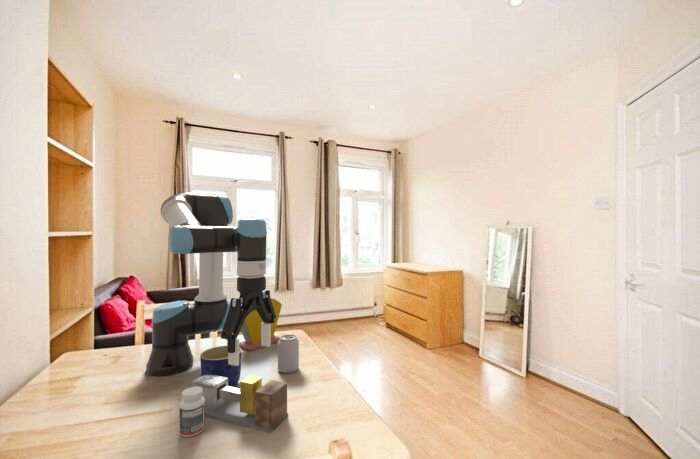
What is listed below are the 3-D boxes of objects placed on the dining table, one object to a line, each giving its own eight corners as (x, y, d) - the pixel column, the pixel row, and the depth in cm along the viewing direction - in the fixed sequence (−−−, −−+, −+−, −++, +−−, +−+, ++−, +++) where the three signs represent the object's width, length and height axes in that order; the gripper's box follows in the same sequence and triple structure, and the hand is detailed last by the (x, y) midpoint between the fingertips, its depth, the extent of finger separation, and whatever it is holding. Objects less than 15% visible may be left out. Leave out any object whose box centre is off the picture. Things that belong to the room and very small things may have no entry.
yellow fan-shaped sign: (272, 335, 153) (272, 290, 153) (285, 339, 147) (285, 292, 148) (231, 349, 135) (232, 298, 135) (245, 353, 129) (245, 301, 130)
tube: (201, 402, 88) (201, 373, 88) (212, 395, 92) (212, 368, 92) (268, 418, 81) (268, 387, 81) (277, 410, 84) (277, 380, 85)
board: (187, 411, 87) (187, 409, 87) (209, 397, 95) (209, 395, 95) (271, 432, 78) (271, 430, 78) (288, 415, 86) (288, 413, 86)
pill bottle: (185, 424, 82) (185, 385, 82) (208, 423, 82) (208, 384, 82) (175, 438, 76) (175, 397, 76) (199, 437, 76) (199, 396, 76)
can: (301, 365, 118) (301, 333, 118) (295, 374, 110) (295, 340, 110) (281, 365, 118) (281, 332, 119) (274, 373, 111) (274, 339, 111)
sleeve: (191, 409, 89) (191, 381, 89) (206, 399, 94) (206, 373, 94) (214, 414, 86) (214, 386, 86) (228, 404, 91) (228, 377, 91)
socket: (254, 427, 80) (254, 391, 80) (270, 412, 87) (270, 379, 87) (272, 431, 79) (272, 395, 79) (287, 416, 85) (287, 382, 85)
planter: (249, 381, 105) (249, 348, 105) (220, 399, 94) (220, 362, 94) (222, 374, 110) (222, 343, 111) (191, 390, 99) (191, 355, 99)
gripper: (230, 284, 72) (229, 376, 72) (288, 271, 96) (287, 341, 96) (205, 282, 75) (204, 371, 75) (267, 269, 98) (266, 337, 98)
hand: (250, 354), depth 85 cm, fingers open, 13 cm apart
